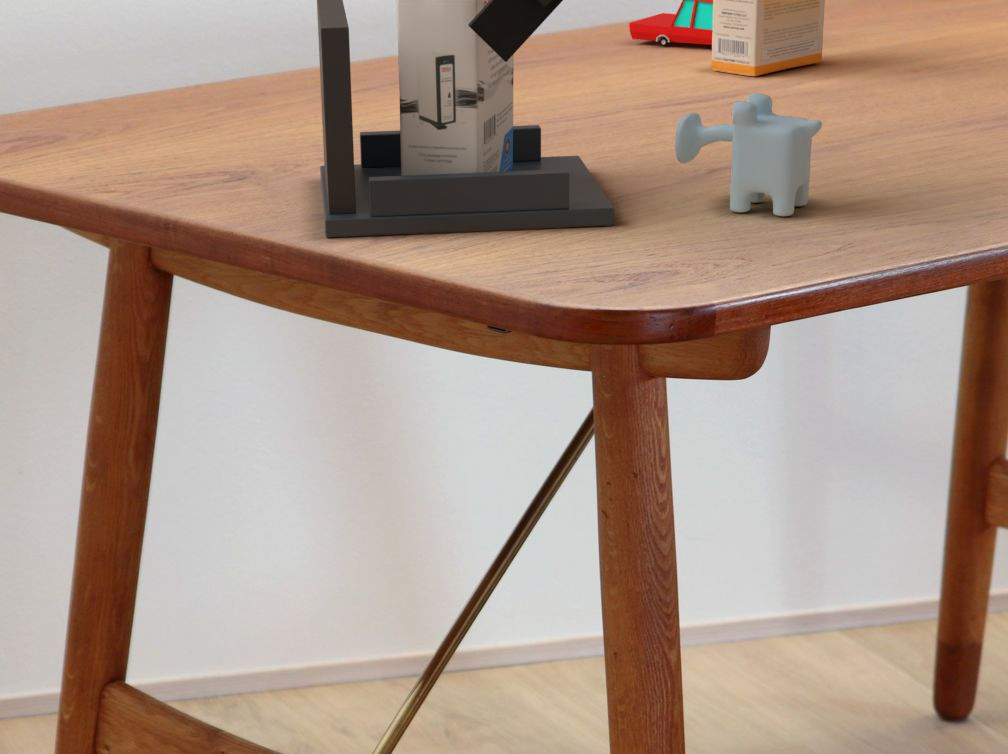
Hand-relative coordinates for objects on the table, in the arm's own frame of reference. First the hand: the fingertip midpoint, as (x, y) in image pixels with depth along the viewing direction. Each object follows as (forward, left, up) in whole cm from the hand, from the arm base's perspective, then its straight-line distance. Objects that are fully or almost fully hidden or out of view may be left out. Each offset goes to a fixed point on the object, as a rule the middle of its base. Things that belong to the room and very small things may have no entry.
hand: (473, 27), depth 108 cm
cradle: (0, +1, -10) cm, 10 cm away
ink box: (0, +1, -9) cm, 9 cm away
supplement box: (+47, -15, -10) cm, 51 cm away
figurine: (+1, -16, -10) cm, 19 cm away
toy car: (+59, -10, -10) cm, 61 cm away
